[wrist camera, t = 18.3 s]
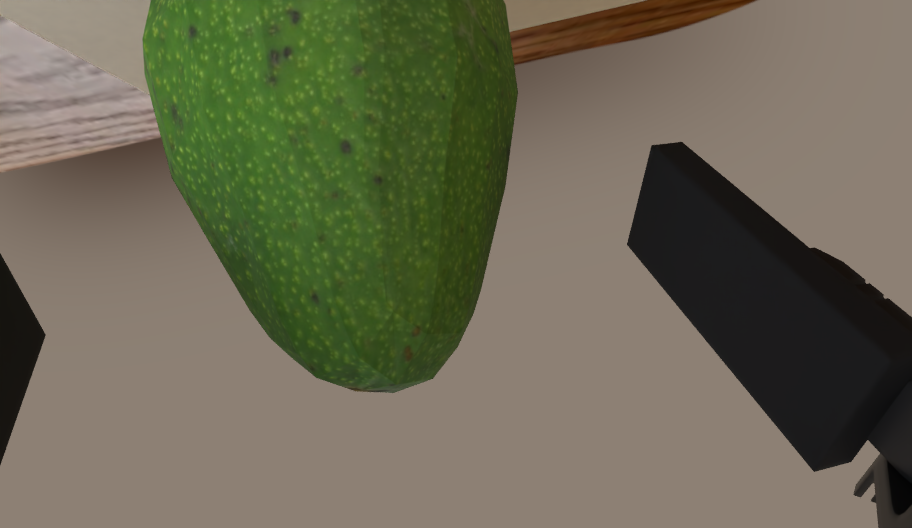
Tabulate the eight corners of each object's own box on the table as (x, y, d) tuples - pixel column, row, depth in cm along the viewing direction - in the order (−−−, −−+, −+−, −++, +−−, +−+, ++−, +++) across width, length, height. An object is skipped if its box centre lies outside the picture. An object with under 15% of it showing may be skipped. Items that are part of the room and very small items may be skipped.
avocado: (323, -392, 9) (460, 422, 8) (525, -108, 16) (613, 348, 15) (36, -126, 13) (102, 451, 12) (299, 10, 20) (357, 381, 19)
